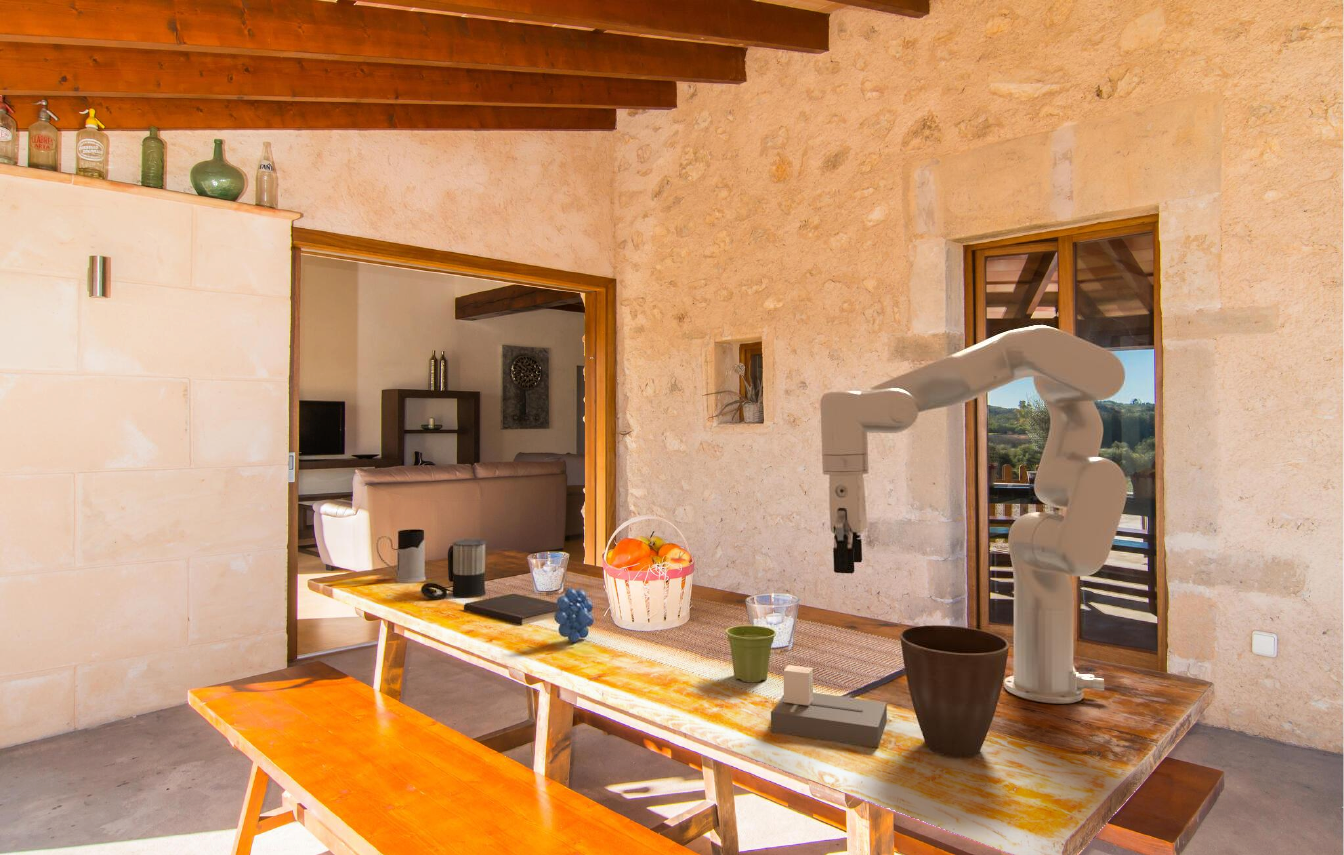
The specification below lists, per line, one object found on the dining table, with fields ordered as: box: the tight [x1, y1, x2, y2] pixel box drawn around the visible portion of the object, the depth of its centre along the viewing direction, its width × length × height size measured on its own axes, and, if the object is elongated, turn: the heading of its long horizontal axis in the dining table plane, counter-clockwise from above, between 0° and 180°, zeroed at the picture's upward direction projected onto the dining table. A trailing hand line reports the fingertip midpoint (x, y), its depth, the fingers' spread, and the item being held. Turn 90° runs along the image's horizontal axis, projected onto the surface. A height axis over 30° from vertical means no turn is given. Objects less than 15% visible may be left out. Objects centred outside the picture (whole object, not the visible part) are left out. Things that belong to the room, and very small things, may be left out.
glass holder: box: [375, 528, 427, 584], centre depth 233 cm, size 9×14×15 cm, turn 108°
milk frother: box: [420, 539, 487, 600], centre depth 213 cm, size 14×16×15 cm
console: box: [770, 692, 888, 749], centre depth 120 cm, size 16×11×3 cm
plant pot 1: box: [725, 625, 777, 683], centre depth 144 cm, size 9×9×9 cm
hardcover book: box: [463, 593, 561, 626], centre depth 195 cm, size 16×23×2 cm
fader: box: [783, 664, 814, 706], centre depth 122 cm, size 4×3×5 cm
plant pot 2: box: [899, 624, 1010, 759], centre depth 113 cm, size 15×15×16 cm
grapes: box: [553, 587, 595, 643], centre depth 167 cm, size 12×7×12 cm, turn 145°
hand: (848, 567), depth 129 cm, fingers open, 9 cm apart
